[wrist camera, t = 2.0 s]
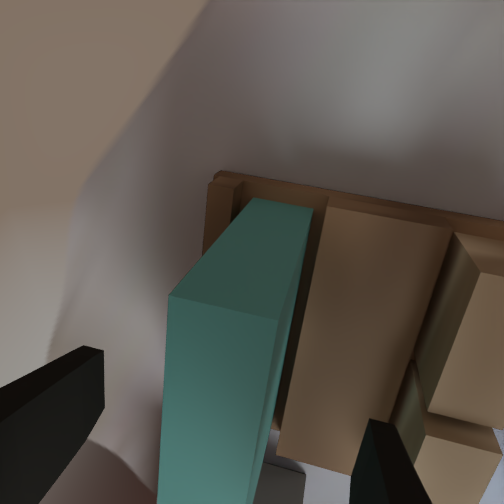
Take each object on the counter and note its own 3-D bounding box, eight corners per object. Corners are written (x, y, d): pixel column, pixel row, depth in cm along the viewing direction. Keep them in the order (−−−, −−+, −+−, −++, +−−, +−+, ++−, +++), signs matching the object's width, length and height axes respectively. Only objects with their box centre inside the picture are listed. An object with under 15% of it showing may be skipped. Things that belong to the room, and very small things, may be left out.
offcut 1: (524, 244, 13) (571, 289, 10) (474, 364, 14) (502, 430, 12) (454, 231, 13) (480, 272, 10) (413, 350, 15) (427, 411, 12)
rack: (533, 226, 13) (562, 250, 11) (436, 457, 17) (446, 502, 15) (221, 170, 15) (202, 183, 13) (198, 394, 19) (181, 428, 17)
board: (313, 208, 14) (278, 320, 7) (272, 419, 17) (224, 618, 11) (253, 197, 14) (168, 295, 8) (225, 406, 17) (152, 592, 11)
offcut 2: (470, 373, 14) (503, 455, 11) (432, 464, 16) (451, 557, 13) (410, 359, 15) (425, 435, 12) (379, 450, 17) (385, 537, 13)
